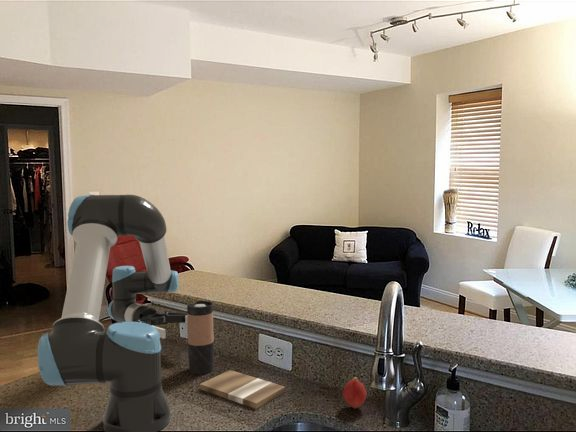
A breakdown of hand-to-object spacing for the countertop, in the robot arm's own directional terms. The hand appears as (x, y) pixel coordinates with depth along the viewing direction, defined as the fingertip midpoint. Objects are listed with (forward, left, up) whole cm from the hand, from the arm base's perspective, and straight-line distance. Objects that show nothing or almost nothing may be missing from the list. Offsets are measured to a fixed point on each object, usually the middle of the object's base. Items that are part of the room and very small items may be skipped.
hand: (182, 328), depth 156 cm
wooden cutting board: (-25, -14, -11) cm, 31 cm away
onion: (-43, -39, -11) cm, 59 cm away
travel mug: (-7, -5, -11) cm, 14 cm away
